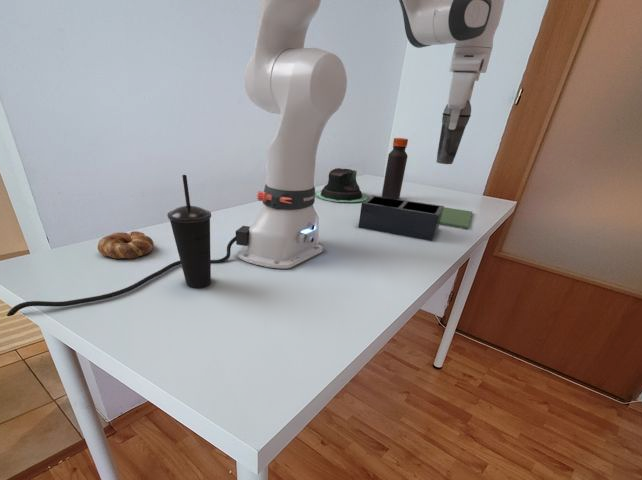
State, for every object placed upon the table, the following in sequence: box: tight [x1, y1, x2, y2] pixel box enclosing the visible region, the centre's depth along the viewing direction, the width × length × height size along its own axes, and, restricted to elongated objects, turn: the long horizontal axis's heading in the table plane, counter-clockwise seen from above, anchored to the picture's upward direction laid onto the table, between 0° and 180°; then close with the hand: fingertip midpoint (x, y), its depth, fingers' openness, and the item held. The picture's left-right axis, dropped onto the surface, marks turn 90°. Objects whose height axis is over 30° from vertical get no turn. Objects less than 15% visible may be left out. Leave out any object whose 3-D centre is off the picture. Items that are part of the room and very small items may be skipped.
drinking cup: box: [166, 174, 212, 289], centre depth 67 cm, size 8×8×20 cm
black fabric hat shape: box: [315, 167, 369, 203], centre depth 136 cm, size 15×19×20 cm
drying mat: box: [439, 206, 473, 230], centre depth 122 cm, size 20×18×1 cm
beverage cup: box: [435, 100, 472, 165], centre depth 98 cm, size 7×7×20 cm
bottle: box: [381, 137, 409, 199], centre depth 133 cm, size 7×7×20 cm
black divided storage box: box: [357, 195, 445, 242], centre depth 107 cm, size 11×22×7 cm, turn 65°
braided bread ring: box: [97, 230, 155, 260], centre depth 83 cm, size 12×11×4 cm
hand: (453, 128), depth 99 cm, fingers closed on beverage cup, 6 cm apart
